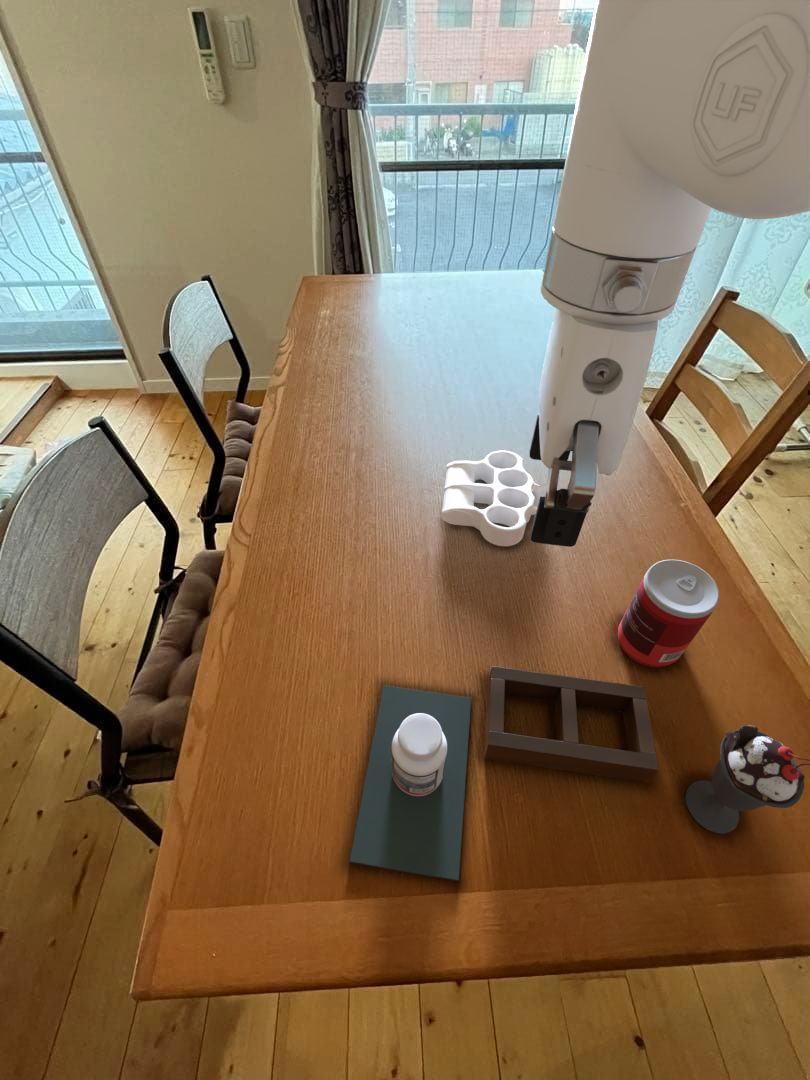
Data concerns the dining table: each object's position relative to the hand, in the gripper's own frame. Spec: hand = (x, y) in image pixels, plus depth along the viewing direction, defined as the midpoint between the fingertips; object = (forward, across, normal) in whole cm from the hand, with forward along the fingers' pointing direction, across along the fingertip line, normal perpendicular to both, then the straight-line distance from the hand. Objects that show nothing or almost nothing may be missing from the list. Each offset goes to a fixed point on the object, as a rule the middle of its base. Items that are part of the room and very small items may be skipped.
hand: (549, 497), depth 43 cm
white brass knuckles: (+28, +30, +2) cm, 41 cm away
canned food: (+28, +8, -18) cm, 35 cm away
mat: (+28, -12, +8) cm, 32 cm away
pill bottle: (+28, -12, +8) cm, 32 cm away
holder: (+28, -5, -7) cm, 30 cm away
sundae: (+28, -11, -21) cm, 37 cm away
